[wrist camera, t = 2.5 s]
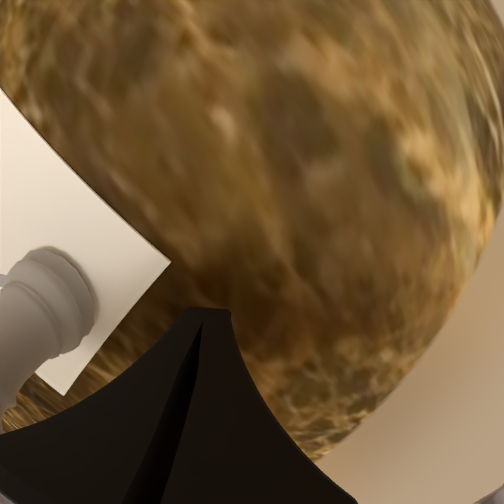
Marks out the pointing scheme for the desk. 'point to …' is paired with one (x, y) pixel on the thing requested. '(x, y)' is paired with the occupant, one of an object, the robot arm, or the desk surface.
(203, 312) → the robot arm
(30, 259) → the rook chess piece
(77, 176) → the paper
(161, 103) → the desk surface
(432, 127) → the desk surface
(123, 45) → the desk surface
